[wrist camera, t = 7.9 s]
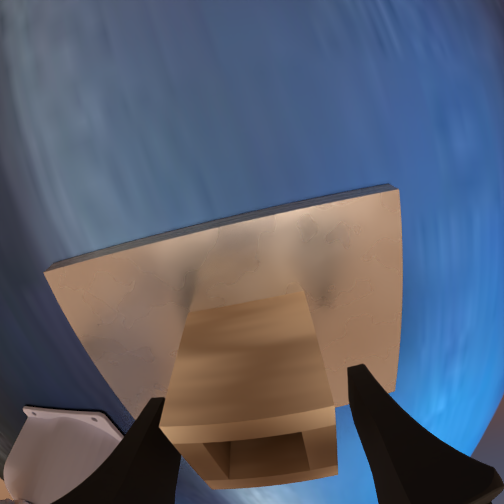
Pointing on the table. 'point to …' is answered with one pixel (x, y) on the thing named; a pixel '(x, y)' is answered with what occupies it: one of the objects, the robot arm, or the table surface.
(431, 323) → the table surface
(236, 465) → the hollow square block
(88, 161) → the table surface
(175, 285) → the base plate
